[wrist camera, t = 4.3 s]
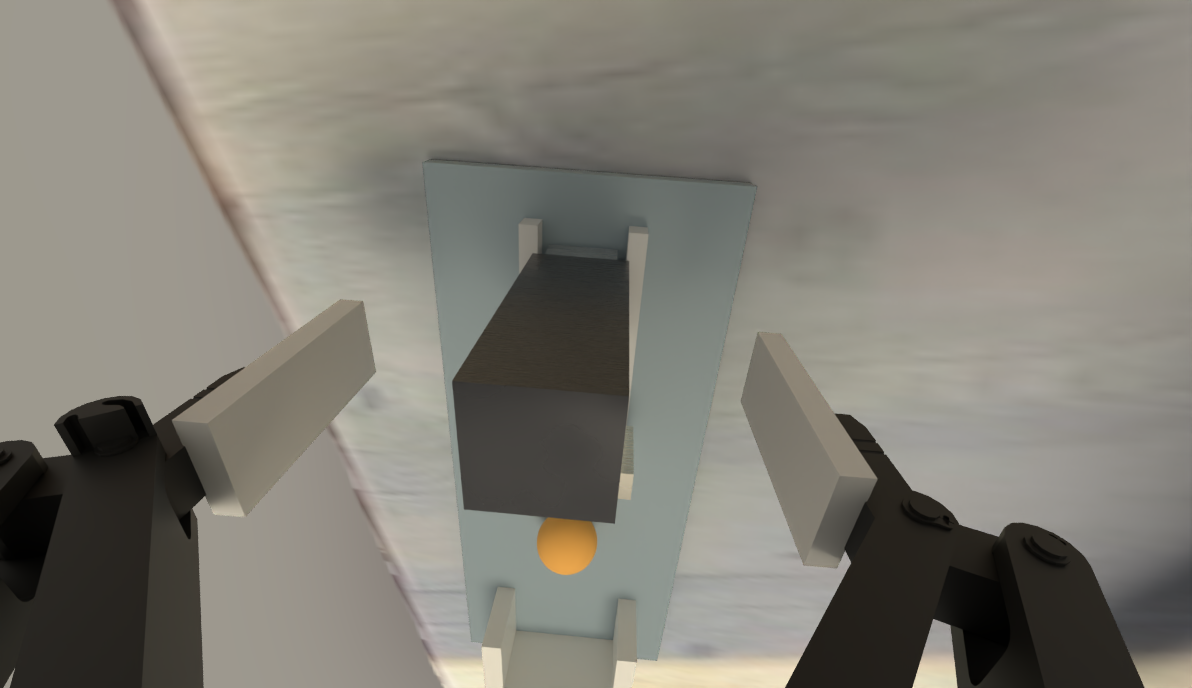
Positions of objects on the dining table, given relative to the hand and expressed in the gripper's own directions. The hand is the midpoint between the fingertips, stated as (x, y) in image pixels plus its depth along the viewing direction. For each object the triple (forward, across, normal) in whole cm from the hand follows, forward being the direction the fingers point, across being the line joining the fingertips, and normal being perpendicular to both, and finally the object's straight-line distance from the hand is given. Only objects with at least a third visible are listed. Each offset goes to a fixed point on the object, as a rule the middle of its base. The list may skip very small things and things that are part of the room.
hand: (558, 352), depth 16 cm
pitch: (+8, 0, -12) cm, 14 cm away
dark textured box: (+6, 0, -3) cm, 7 cm away
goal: (+6, 0, -26) cm, 26 cm away
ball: (+5, 0, -15) cm, 16 cm away
